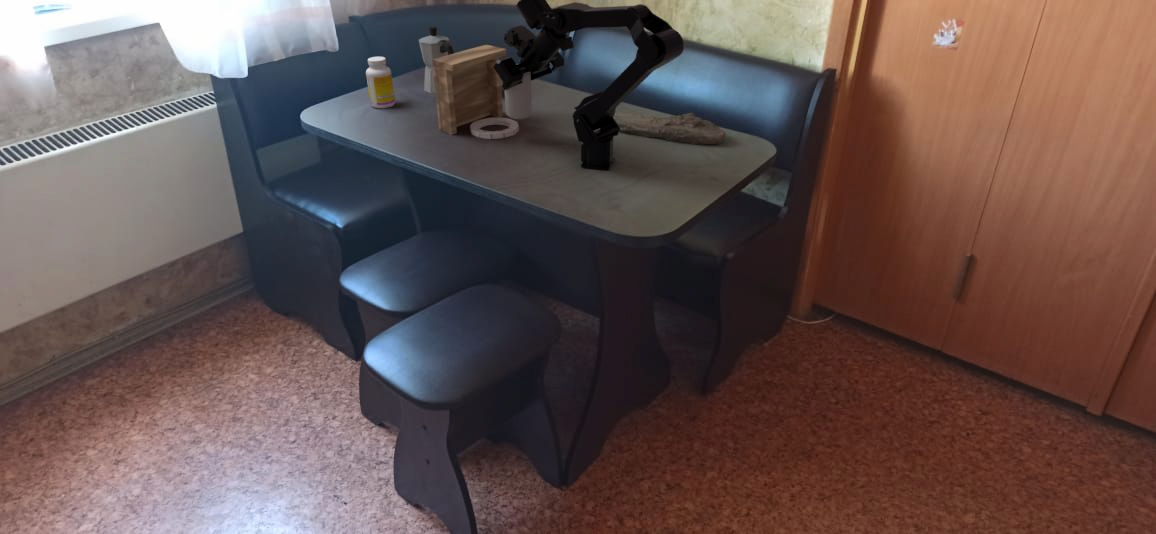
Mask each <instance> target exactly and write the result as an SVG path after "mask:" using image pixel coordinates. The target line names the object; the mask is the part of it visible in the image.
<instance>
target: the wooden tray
mask: <svg viewBox="0 0 1156 534" xmlns="http://www.w3.org/2000/svg"><path fill="white" fill-rule="evenodd" d="M505 56H506V57H507V49H506V48H502V47H499V46H494V45H489V44H483V45H479V46H476V47H473V48H469V49H468V48H467V49H465V50H462V51H458V52H454V54H450V55H447V56H443V57H440V58H436V59H433V60H432V64H433V74H434V83H435V93H436V94H435V101H436V111H437V119H438V120H437V123H438V130H439V131H441V132H443V133H447V134H449V135H455V134H457V132H458V130H457V128H458V127H460V126H464V125H466V124H469V123H471V122H472V123H473V122H476V121H478V120H481V119H484V118H485V117H486V118H487V117H488V116H493V117H496V118H498V117H499V118H502V117H504V110H503V109H504V108H503V107H504V105H503V92H502V91H503V87H502V80H501V78H500V77H499V75H498V74H497V72H496V71H495V69H494V68H493V65H494V63H495V62H496V61H497V60H498V59H501V58H503V57H505Z"/></svg>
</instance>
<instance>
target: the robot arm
mask: <svg viewBox="0 0 1156 534" xmlns="http://www.w3.org/2000/svg"><path fill="white" fill-rule="evenodd" d="M515 7H516V9H517V10H518V12H519V14H520V15H521V17H522V18H523V19H524V21H525V23H526V24H527V26H528V28H530V30H529V29H528V28H527V27H526V26H524V25H517V26H514V27H511V28H509V29H508V30H506V32H505V33H504V35H503V41H504V43H505V44H507V46H509V47H510V48H512V47H513V48H514V49H516V50H517V51H516V53H515V54H516V55H517V57H518V58H520V59H519V63H516V61H515V60H514V58H512V57H511V56H506V57H505V56H504V57H500V59H498V60H497V61H496V62H495V63H494V65H493V68H494V69H495V71H496V72H497V74H498V75H499V77H500V78H501V82H502V84H501V87H502V90H504V91H505V90H507V89H509V88H512V87H514V86H516V85H519V84H521V83H523V82H522V79H523V76H524V75H523V74H525V73H528V72H531V82H532V81H534V80H538V79H540V78H543V77H545V76H547V75H551V74H552V73H554V72H557V71H560V70H562V68H563V67H564V66H565V59H564V58H563V56H562V54H561V53H560V52H559V50H561V51H562V52H566V51H568V50H572V49H574V46H575V45H574V42H573V36H569V33H571V32H577V31H579V30H582V29H588V28H589V29H591V28H592V29H593V28H627V30H628V31H629V33H630V36H631V39H632V42H633V44H634V45H635V46H636V47H637V50H636V55H635V58H634V60H633V61H631V63H630V64H629V65H628V66H626V68H625V69H624V70H623V71H622V72H621V73H620V74H619V75H618V76H617V77H616V78H615V80H613V81H612V82H611V83H610V84H609V85H608V86H607V87H606V89H604V91H599V92H595V93H594V94H591V95H588V96H586V97H584V98H583V99H582V100H581V101H580V103H579V104H578V105H577V106H574V107H573V108H574V111H573V114H572V120H573V121H572V122H573V126H574V129H575V133H576V137H577V139H578V142H580V143H581V145H580V161H581V162H582V163H581V164H580V167H581V168H583V169H585V168H586V169H593V170H594V169H596V170H602V171H608V170H609V171H610V169H611V167H612V165H613V163H614V162H615V160H616V157H614V137H615V136H616V137H617V136H618V135H619V133H620V131H619V130H620V127H619V126H618V124H617V123H616V121H615V119H614V118H613V116H614V114H615V112H616V108H617V107H618V106H619V105H620V104H621V103H623V101H624V100H625V99H626V98H627V97H629V96H630V94H632V93H633V92H634V91H635V90H636V88H638V86H640V85H641V84H642V83H643V82H645V80H646V79H647V78H648V77H649V76H650V75H651V74H652V73H653V72H654V71H656V70H658V69H659V68H662V67H663V66H666V65H667V64H668V63H670V62H672V61H673V60H675V59H677V58H678V57H680V56H681V55H682V53H684V50H685V47H684V41H683V37H682V35H681V33H679V32H678V30H676V29H674V28H673V27H672V26H671V25H670V23H669V22H667V21H666V20H664V19H663V18H661V17H659V16H658V15H656V14H654V13H653V12H652V11H651V9H650V8H649V7H648V6H647V5H646V4H641V3H640V4H639V3H638V4H635V5H623V6H620V5H619V6H618V5H617V6H602V7H601V6H599V7H598V6H597V7H595V6H590V5H589V4H586V3H583V2H582V3H581V2H578V1H577V2H576V1H574V2H571V3H570V2H569V3H567V4H563V5H559V6H554V7H553V8H552V7H551V6H550V5H549V3H548V1H547V0H518V2H517V3H516V6H515ZM533 29H536V31H537V30H538V31H539V32H538V33H537V35H535V34H534V33H533V31H531V30H533ZM646 30H647V31H648V32H650V33H652V34H650V35H649V33H648V32H647V31H646ZM516 64H517V65H516ZM551 65H552V67H551Z"/></svg>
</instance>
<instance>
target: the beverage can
mask: <svg viewBox="0 0 1156 534" xmlns="http://www.w3.org/2000/svg"><path fill="white" fill-rule="evenodd" d="M517 64H518V63H516V65H517ZM523 75H524V76H523V79H522V82H523V83H521V84H519V85H516V86H514V87H512V88H509V89H507V90H504V106H505V114H506V115H507V116H508V117H509V119H512V120H525V119H528V118H529V117H530V116H531V115H532V114H533V103H532V101H533V99H532V81H531V72H528V73H525V74H523Z"/></svg>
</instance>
